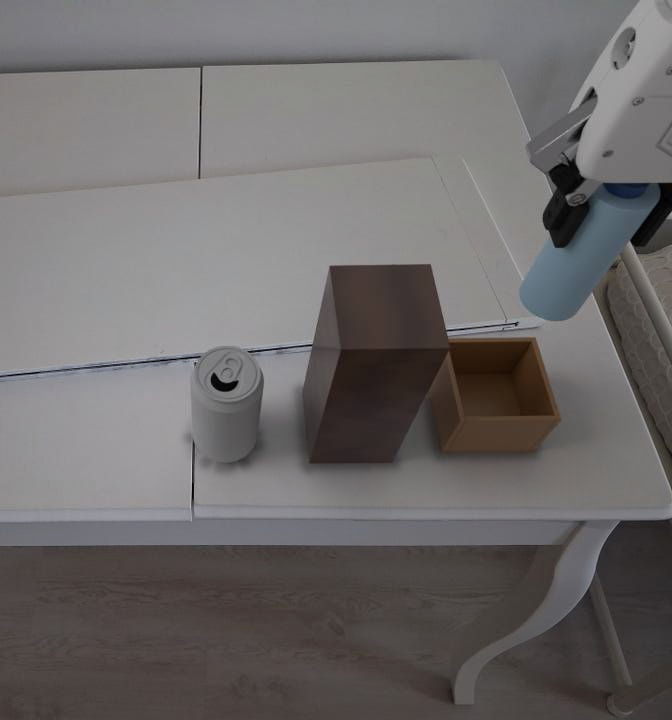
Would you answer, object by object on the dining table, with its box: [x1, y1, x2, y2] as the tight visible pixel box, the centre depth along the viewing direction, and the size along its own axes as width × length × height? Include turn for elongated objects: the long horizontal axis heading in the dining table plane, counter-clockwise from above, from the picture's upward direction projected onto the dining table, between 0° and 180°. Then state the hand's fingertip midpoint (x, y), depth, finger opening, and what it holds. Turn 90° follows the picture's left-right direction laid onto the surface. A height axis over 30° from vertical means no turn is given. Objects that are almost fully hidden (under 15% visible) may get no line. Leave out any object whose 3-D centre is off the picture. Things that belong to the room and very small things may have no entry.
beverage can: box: [189, 345, 265, 463], centre depth 66 cm, size 6×6×12 cm
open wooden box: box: [428, 336, 562, 453], centre depth 70 cm, size 9×9×6 cm
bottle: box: [518, 183, 660, 322], centre depth 51 cm, size 5×5×13 cm
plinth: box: [301, 263, 450, 465], centre depth 63 cm, size 8×8×20 cm
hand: (593, 230), depth 50 cm, fingers closed on bottle, 4 cm apart
